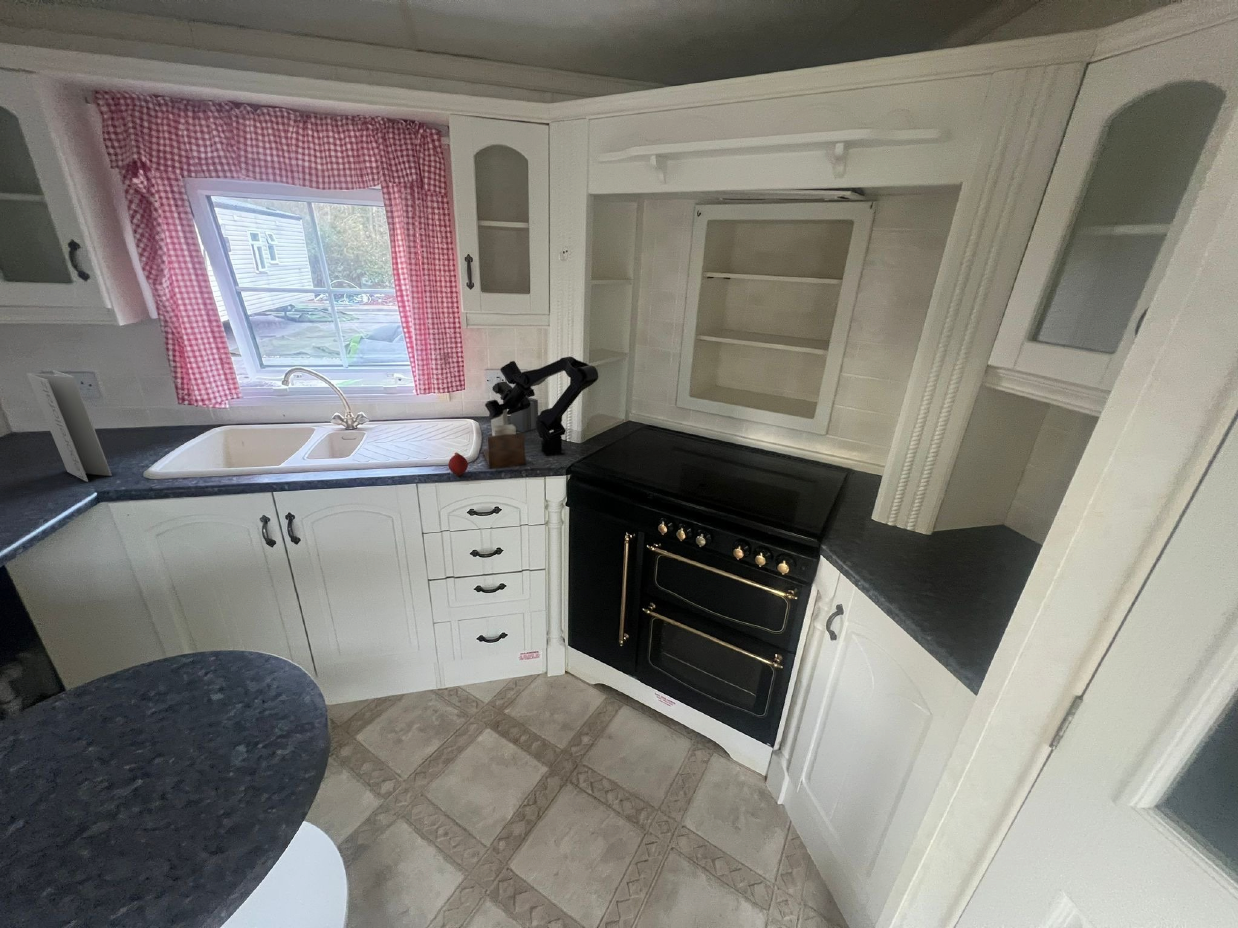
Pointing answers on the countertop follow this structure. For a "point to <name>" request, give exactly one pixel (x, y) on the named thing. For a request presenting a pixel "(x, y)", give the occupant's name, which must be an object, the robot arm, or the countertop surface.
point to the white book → (500, 420)
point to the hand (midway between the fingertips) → (498, 416)
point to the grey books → (526, 417)
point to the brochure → (70, 424)
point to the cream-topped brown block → (505, 447)
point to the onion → (458, 464)
